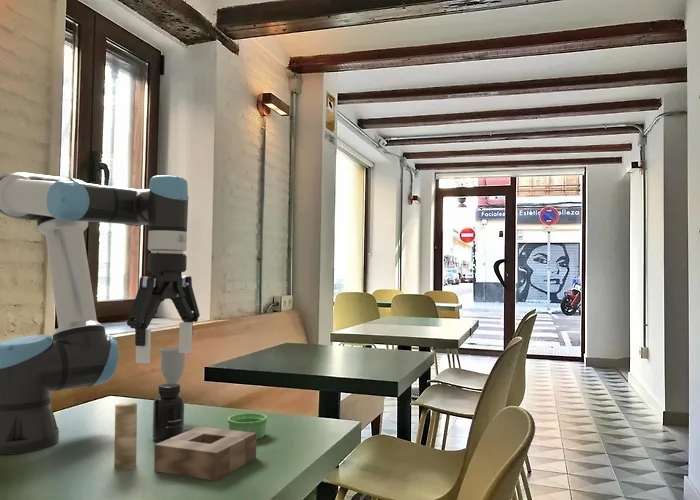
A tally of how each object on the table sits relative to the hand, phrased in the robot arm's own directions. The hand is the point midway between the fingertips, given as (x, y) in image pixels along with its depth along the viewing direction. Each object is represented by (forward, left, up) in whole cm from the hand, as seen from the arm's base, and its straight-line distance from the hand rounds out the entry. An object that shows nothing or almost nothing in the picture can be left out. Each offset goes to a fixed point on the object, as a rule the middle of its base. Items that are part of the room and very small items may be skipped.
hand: (165, 357), depth 117 cm
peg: (-5, -5, -21) cm, 22 cm away
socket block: (+9, +2, -21) cm, 23 cm away
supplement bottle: (-10, +14, -21) cm, 27 cm away
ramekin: (+6, +22, -21) cm, 31 cm away
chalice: (-20, +28, -21) cm, 40 cm away
